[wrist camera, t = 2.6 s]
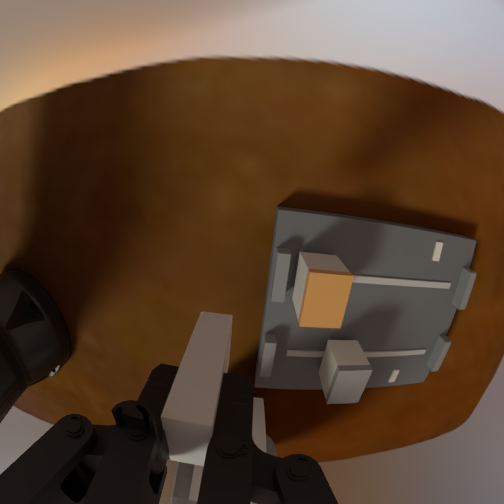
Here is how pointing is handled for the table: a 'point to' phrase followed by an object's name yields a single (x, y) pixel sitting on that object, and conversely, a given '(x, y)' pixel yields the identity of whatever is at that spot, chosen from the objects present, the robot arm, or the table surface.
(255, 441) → the alarm clock
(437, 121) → the table surface
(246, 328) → the table surface
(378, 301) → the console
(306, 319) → the fader
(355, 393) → the fader
